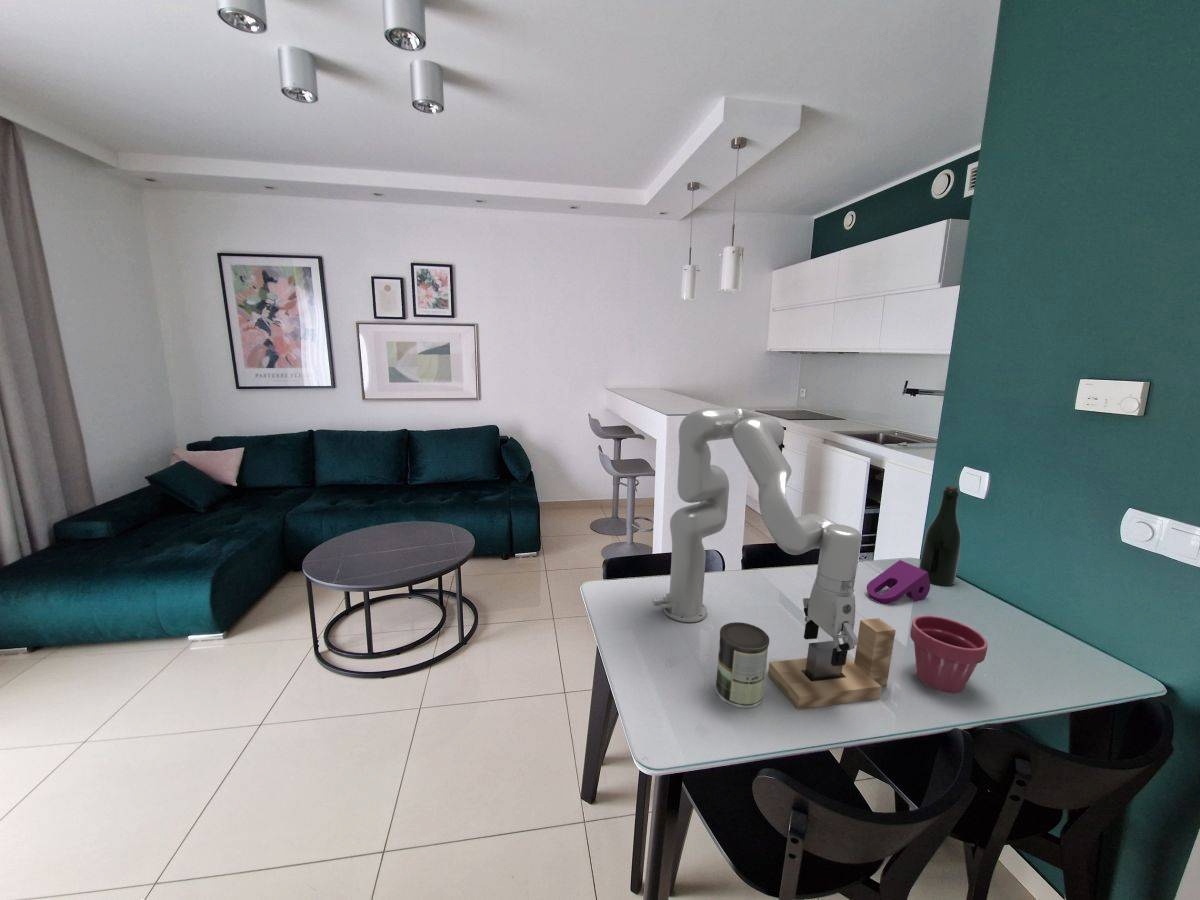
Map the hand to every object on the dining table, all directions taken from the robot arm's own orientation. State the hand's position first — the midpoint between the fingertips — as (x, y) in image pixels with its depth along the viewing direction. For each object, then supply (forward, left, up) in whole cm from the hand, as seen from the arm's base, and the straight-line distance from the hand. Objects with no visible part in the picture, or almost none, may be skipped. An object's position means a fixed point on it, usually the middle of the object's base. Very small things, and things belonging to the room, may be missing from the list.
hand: (823, 651), depth 111 cm
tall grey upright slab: (0, 0, -8) cm, 8 cm away
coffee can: (-20, 0, -9) cm, 22 cm away
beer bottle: (+75, +42, -9) cm, 87 cm away
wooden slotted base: (+3, -1, -8) cm, 9 cm away
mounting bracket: (+51, +34, -9) cm, 62 cm away
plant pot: (+29, -4, -9) cm, 31 cm away
